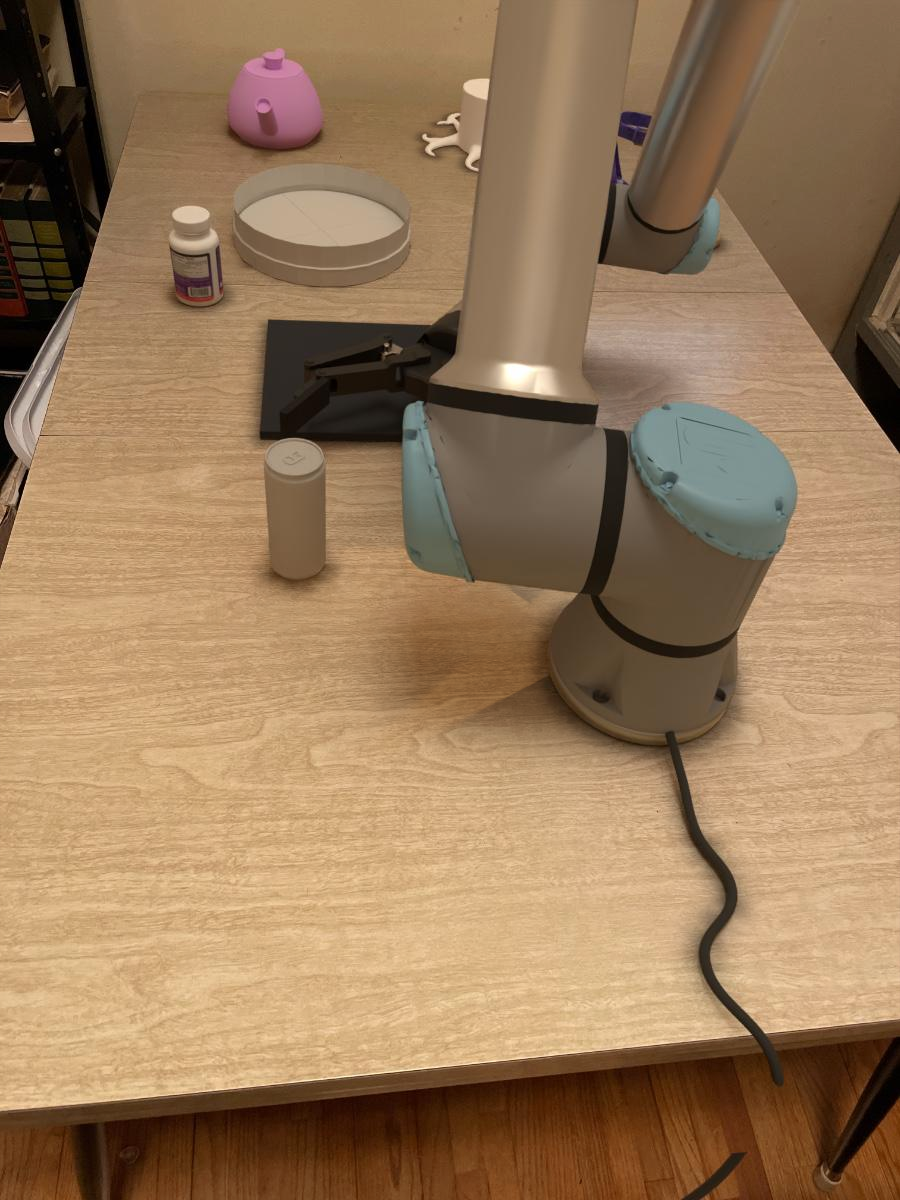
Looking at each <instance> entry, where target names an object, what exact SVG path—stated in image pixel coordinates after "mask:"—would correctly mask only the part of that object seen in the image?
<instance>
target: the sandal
mask: <svg viewBox="0 0 900 1200" xmlns="http://www.w3.org/2000/svg"><path fill="white" fill-rule="evenodd" d="M651 118H652V115H651V114H648V113H645V112H638V111H630V110H624V111H621V118H620V124H619V130H618V137H620V138H621V139H624V140H627V141H630V142H632V144H633V145H634V146H637V147H642V145H643V142H644V139H645V136H646V133H647V130H648V127H649V124H650V121H651ZM619 154H620V153H619V145H618V142H617V143H616V150H615V156H614V162H613V169H612V175H611V182H610V183H615V184H624V185H630V183H628V182H627V181H626V180H624V179H623V174H622V168H621V162H620V155H619ZM722 238H723V233H722V231H721V230H720V229H719V231H718V236H717V241H716V244H715V247H714V249H716V248H717V247H719V245H720V243H721V241H722Z"/></svg>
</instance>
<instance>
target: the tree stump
mask: <svg viewBox="0 0 900 1200" xmlns="http://www.w3.org/2000/svg"><path fill="white" fill-rule="evenodd" d="M489 81H490V78H473V79H469V80H467V81H466V82H464V83H463V86H462V94H461V104H460V105H461V106H460V112H456V113H452V114H450V115H448V116H447V117H446V120H439V121H438V122H437V123H436V125H438V126H439V125H445V126H446V125H447V126H448V125H453V126H454V128H455V131H456V133H454V134H452V135H448V136H445V137H428V135H427V133H423V134H422V136H421V137H422V140H423V141H424V142H425V143H428V144H427V145H426V146H425V149H424V152H425V154H426V155H429V156H433V157H436V155H435V153H434V152H433V150H436V149H440V148H443V147H448V146H449V147H450V146H457V147H459V148H460V149H461V150H462V151H463V152H465V153H467V154H468V156H467V157H466V159H465V162H464V165H465V166H466V168H467V169H468V170H471V171H474V172H478V169H479V167H478V168H477V167H475V166H472V165H473V163H474V162H476V161H480V153H481V145H482V137H483V129H484V121H485V113H486V105H487V97H488V89H489ZM458 117H459V120H457V119H456V118H458Z"/></svg>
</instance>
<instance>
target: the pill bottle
mask: <svg viewBox="0 0 900 1200" xmlns="http://www.w3.org/2000/svg"><path fill="white" fill-rule="evenodd" d="M171 219H172V226H173V230H172V231H171V232H170V233H169V235H168V246H169V252H170V260H171V267H172V274H173V281H174V290H175V295H176V298H177V299H178V301H180V302H181V303H182V304H185V305H187V306H191V307H198V308H199V307H202V308H203V307H210V306H212V305H215V304H217V303H218V302H220V301H221V300H222V298H223V296H224V281H223V280H224V279H223V269H222V259H221V249H220V248H221V247H220V239H219V235H218V234H217V232H216V231H215V230H214V229H213V228H212V221H211V214H210V212H209V210H207V208H204V207H202V206H197V205H185V206H180V207H178V208H176V209H174V210H173V211H172V213H171Z"/></svg>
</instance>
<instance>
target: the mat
mask: <svg viewBox="0 0 900 1200" xmlns="http://www.w3.org/2000/svg"><path fill="white" fill-rule="evenodd" d="M432 325H433V324H414V323H413V324H410V323H383V322H379V323H378V322H355V321H353V322H352V321H351V322H350V321H327V320H326V321H325V320H324V321H323V320H301V319H300V320H299V319H298V320H297V319H273V318H272V319H271V318H270V319H267V326H266V327H267V329H266V342H265V343H266V344H265V355H264V356H265V357H264V367H263V368H264V369H263V380H262V381H263V382H262V397H261V398H262V399H261V407H260V408H261V409H260V425H259V438H260V440H283V439H286V438H284V437H282V436H281V435H280V414H279V411H280V410H282V409H283V408H284V407H285V406H287V405H288V404H289V403H290V402H292V401H293V400H294V393H295V391H296V390H298V389H299V388H300V387H301V386H303V385H304V360H305V359H308V358H311V357H315V356H319V355H322V354H326V353H329V352H333V351H337V350H340V349H344V348H348V347H351V346H355V345H358V344H362V343H366V342H369V341H372V340H373V339H375V338H377V337H378V336H380V335H381V334H384V333H389V334H391V335H392V336H393V341H392V343H393V344H395V345H397V346H399V347H401V348H403V349H404V348H406V347H410V346H413V345H415V344H416V343H417V341H418V340H419V338H420V337H421V336H422V334H423V333H424V332H425V331H426V330H427V329H428V328H429V327H430V326H432ZM396 380H400V371H399V367H398V368H397V369H396ZM329 384H330V382H329ZM417 401H423V402H424V404H425V405H426V403H427V402H426V401H425V400H423V399H422V398H420V397H418V396H413V395H410V394H408V393H406V392H405V391H403V392H395V393H389V392H388V391H387V390H378V391H370V392H363V393H355V394H347V395H340V396H332V397H329V405H327V406H326V407H325V408H324V409H323V410H321V411H320V412H319V413H318V414H317V415H315V416H314V417H313V418H312V419H311V420H309V421H308V422H307V423H306V424H305V425H304V426H302V427H301V428H300V429H299V430H298V431H296V432H295V433H294V434H293V435H292V436H290V437H289V438H300V439H306V440H309V441H336V442H337V441H339V442H343V441H344V442H385V443H386V442H388V443H389V442H390V443H393V442H395V443H403V417H404V411H405V408H406V407H407V406H408V405H409V404H412V403H416V402H417Z"/></svg>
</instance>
